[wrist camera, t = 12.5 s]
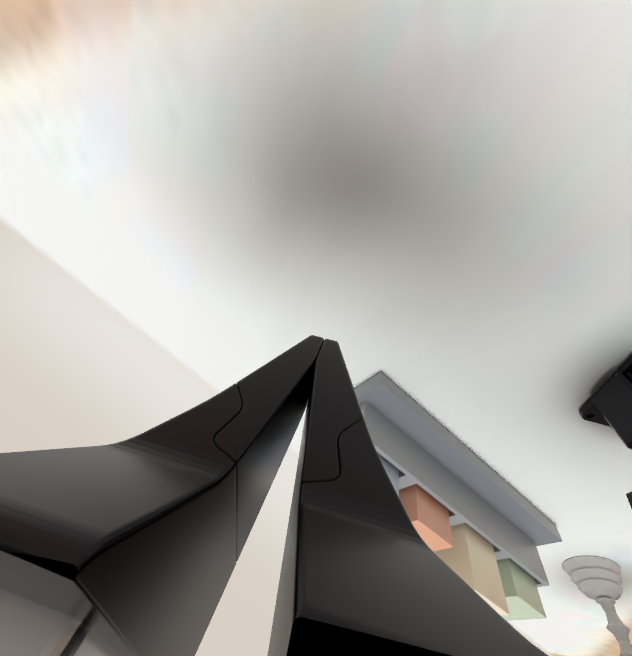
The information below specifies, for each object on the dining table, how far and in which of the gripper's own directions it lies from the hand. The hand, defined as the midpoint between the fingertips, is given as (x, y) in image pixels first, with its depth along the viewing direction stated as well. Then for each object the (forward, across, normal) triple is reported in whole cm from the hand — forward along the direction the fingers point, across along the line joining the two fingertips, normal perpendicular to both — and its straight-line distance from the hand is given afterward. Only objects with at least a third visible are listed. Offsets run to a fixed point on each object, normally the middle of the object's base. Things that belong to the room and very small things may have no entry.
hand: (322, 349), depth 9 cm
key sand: (+9, -14, +23) cm, 28 cm away
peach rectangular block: (+11, -9, +19) cm, 24 cm away
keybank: (+12, -12, +21) cm, 27 cm away
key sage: (+11, -20, +26) cm, 34 cm away
